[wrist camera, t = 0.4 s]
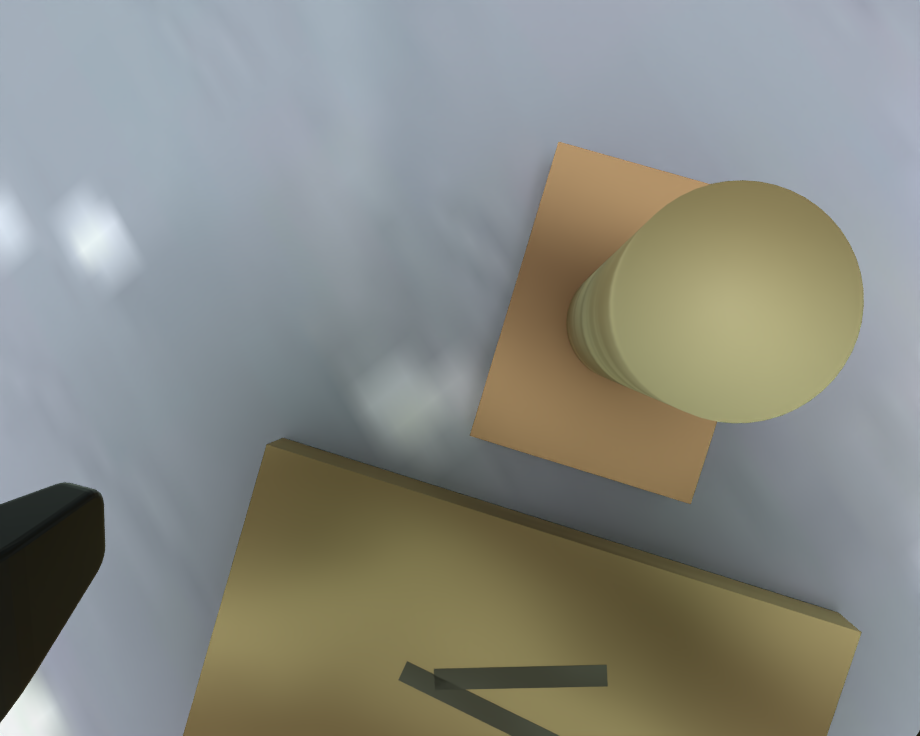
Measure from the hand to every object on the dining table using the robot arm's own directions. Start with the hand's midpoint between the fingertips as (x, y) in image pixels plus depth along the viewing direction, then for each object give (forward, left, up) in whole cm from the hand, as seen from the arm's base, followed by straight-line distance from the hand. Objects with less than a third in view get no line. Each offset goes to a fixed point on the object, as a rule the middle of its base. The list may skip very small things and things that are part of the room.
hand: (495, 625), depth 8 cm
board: (-7, -7, -15) cm, 18 cm away
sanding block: (+4, +1, -15) cm, 15 cm away
